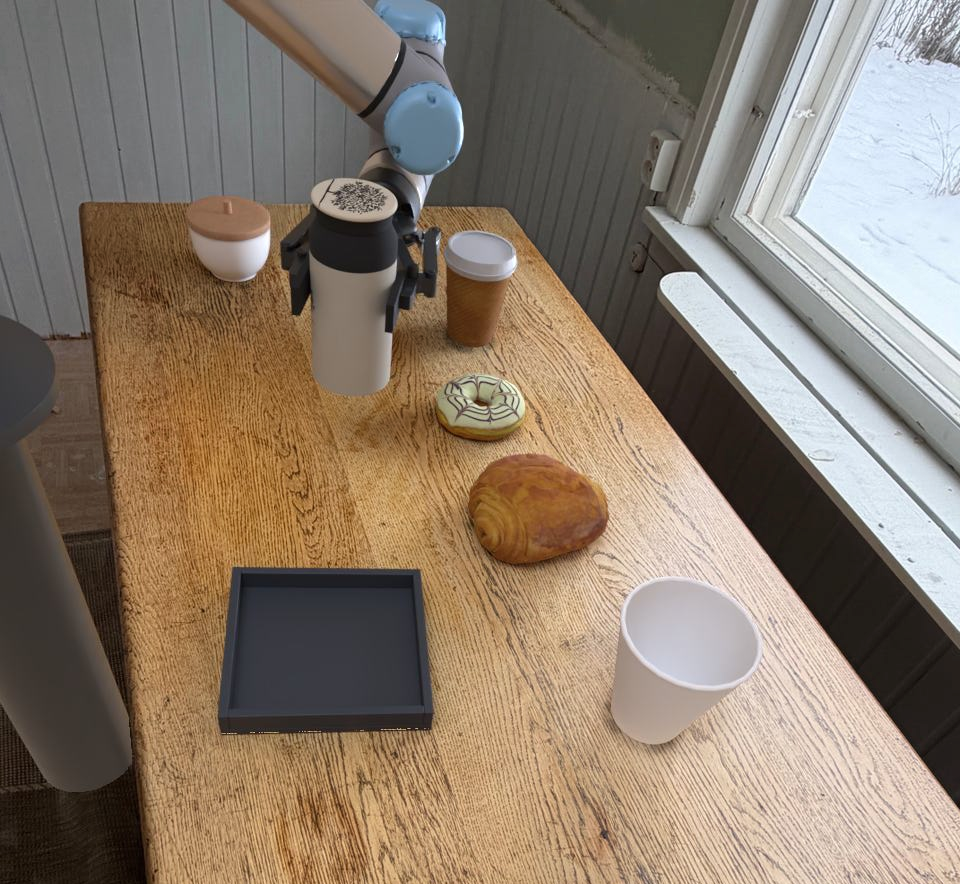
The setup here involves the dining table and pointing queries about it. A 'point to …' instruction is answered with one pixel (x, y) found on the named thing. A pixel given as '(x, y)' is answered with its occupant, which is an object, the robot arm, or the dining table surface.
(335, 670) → the serving tray
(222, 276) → the trinket box
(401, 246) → the robot arm
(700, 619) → the cup
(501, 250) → the disposable coffee cup
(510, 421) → the decorated donut
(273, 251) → the dining table surface
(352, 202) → the travel mug
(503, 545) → the croissant
